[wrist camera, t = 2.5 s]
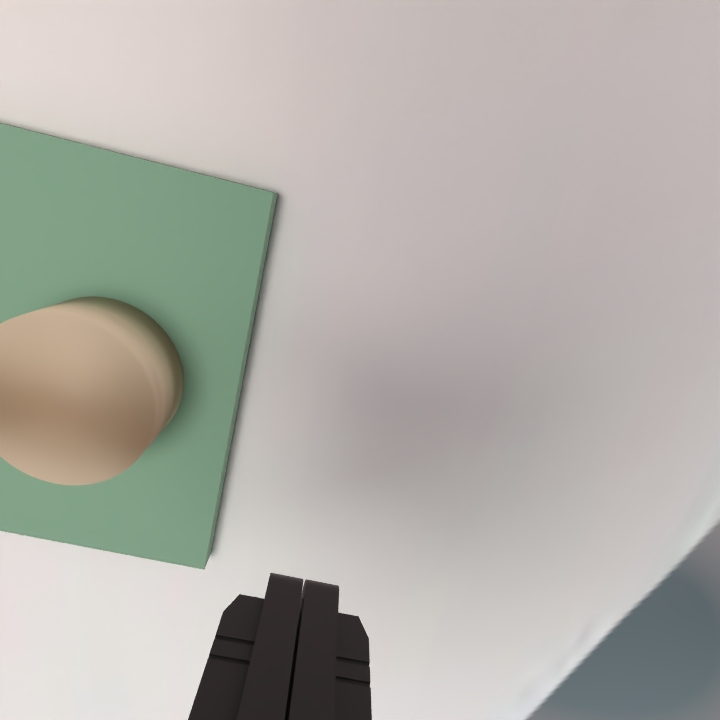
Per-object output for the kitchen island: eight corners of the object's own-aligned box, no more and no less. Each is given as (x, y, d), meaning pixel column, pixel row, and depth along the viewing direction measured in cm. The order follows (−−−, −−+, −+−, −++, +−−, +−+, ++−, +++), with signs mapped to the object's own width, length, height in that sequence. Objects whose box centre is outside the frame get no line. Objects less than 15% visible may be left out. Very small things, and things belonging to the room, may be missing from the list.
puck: (29, 278, 18) (-33, 291, 15) (195, 318, 18) (166, 338, 16) (19, 427, 20) (-38, 464, 17) (172, 460, 20) (142, 501, 17)
